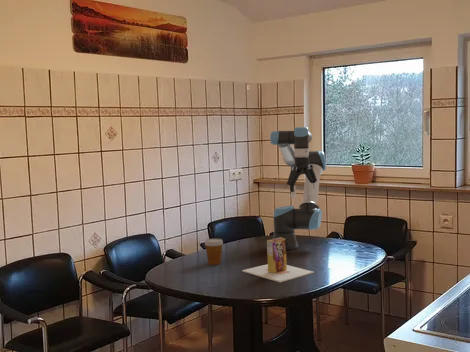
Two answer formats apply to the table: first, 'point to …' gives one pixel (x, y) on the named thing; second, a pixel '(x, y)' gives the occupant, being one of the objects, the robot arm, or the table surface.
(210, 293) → the table surface
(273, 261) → the candy box
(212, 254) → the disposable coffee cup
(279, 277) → the mat
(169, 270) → the table surface
